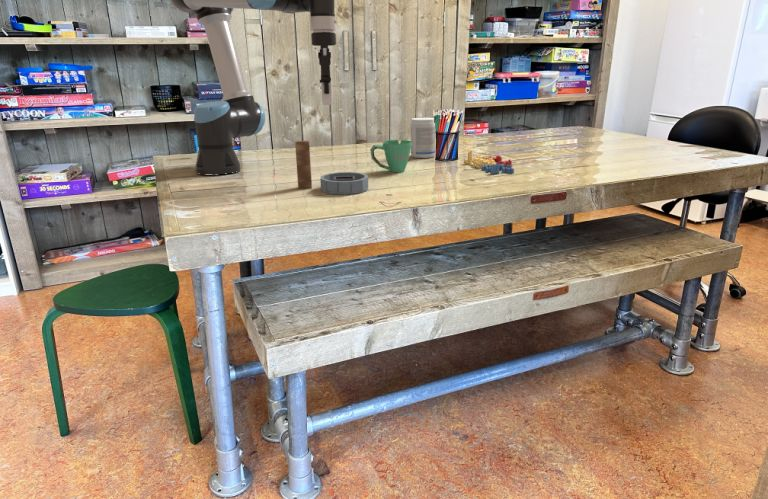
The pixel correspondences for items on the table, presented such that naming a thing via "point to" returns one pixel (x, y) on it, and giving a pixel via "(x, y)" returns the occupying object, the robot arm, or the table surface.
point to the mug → (394, 154)
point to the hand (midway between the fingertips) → (326, 103)
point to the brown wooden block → (303, 164)
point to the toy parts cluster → (490, 164)
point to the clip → (344, 178)
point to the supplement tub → (422, 137)
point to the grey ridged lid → (344, 183)
